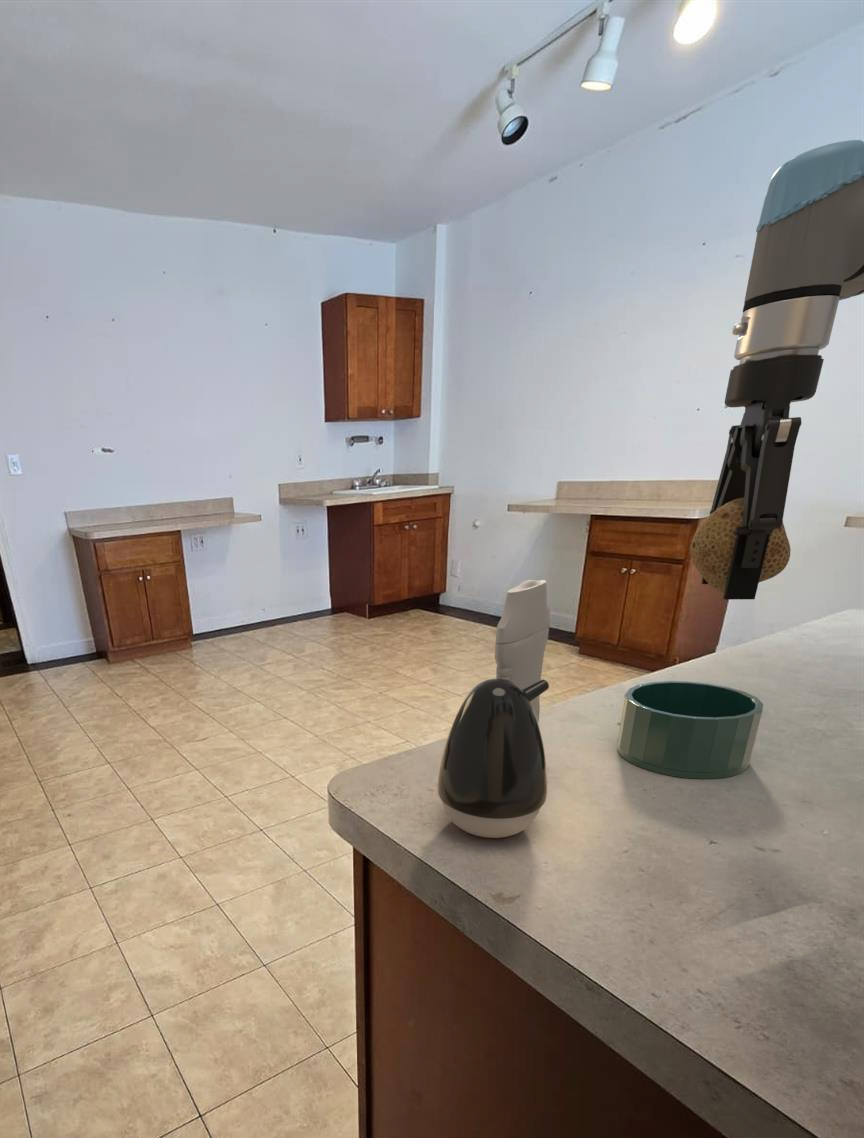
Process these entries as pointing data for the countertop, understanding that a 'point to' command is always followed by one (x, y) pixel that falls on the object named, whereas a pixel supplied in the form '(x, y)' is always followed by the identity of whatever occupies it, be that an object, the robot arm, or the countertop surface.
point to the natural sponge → (732, 546)
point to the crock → (689, 729)
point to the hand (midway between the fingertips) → (726, 590)
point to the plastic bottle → (523, 636)
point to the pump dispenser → (494, 761)
